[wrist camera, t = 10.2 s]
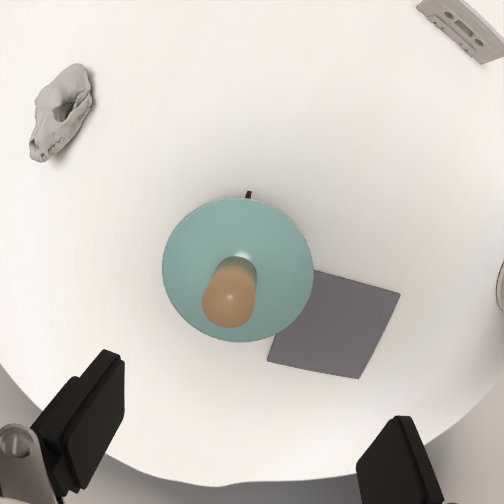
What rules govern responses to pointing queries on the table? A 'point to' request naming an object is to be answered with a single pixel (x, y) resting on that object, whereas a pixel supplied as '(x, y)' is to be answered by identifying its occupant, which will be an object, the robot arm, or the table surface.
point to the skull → (60, 112)
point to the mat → (335, 327)
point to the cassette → (465, 28)
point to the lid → (237, 270)
